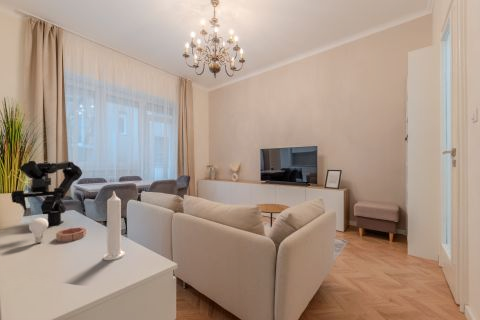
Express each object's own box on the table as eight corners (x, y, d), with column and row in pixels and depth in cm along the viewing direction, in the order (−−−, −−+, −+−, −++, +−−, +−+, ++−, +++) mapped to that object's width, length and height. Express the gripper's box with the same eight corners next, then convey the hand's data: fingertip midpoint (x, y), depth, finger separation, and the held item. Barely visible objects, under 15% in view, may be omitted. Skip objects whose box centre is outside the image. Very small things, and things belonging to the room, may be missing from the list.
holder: (63, 235, 107) (63, 228, 107) (88, 232, 110) (88, 226, 110) (52, 243, 97) (52, 236, 97) (80, 240, 100) (80, 233, 100)
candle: (115, 261, 81) (115, 193, 80) (98, 259, 82) (98, 192, 81) (128, 253, 87) (128, 190, 87) (113, 251, 89) (113, 189, 88)
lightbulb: (52, 240, 100) (52, 216, 100) (38, 246, 94) (38, 220, 94) (39, 239, 101) (39, 215, 101) (24, 245, 94) (24, 219, 94)
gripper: (11, 173, 101) (8, 201, 92) (63, 171, 113) (65, 196, 105) (13, 188, 107) (11, 216, 99) (63, 185, 119) (64, 209, 111)
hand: (39, 209), depth 103 cm, fingers open, 9 cm apart
